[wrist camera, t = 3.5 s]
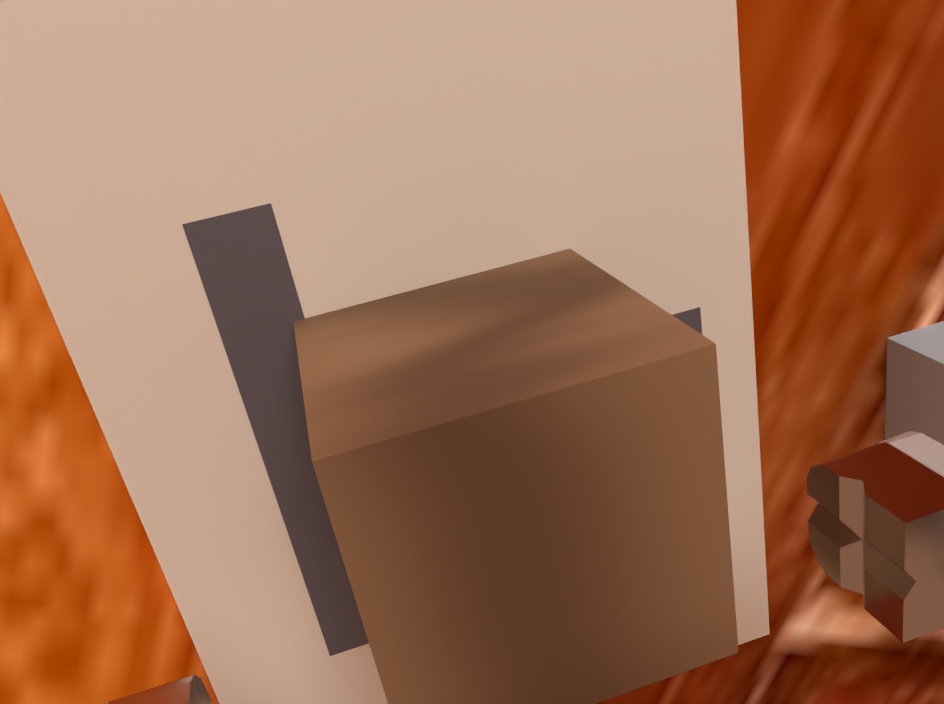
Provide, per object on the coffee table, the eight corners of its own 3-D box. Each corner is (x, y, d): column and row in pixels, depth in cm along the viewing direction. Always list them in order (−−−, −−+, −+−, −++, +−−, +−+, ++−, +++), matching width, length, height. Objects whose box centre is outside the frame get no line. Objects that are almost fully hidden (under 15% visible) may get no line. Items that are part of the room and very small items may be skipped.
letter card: (712, -132, 13) (728, -138, 13) (757, 620, 19) (769, 634, 19) (-63, 16, 11) (-77, 15, 11) (266, 793, 18) (266, 814, 17)
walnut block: (570, 248, 14) (715, 343, 10) (604, 482, 16) (738, 652, 12) (292, 321, 14) (312, 460, 9) (364, 558, 16) (409, 770, 11)
